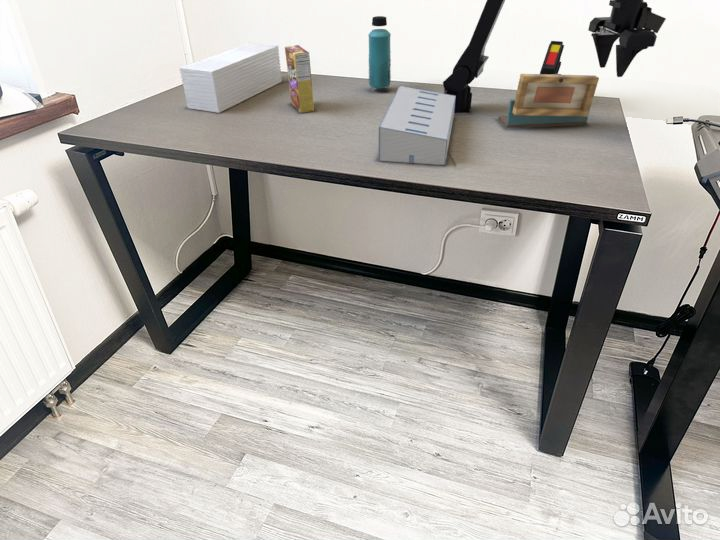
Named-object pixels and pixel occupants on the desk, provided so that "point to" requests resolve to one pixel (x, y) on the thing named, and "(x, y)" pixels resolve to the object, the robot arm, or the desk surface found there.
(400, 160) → the warehouse
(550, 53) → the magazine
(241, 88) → the stack of papers
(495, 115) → the desk surface
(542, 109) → the picture frame
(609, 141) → the desk surface
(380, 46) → the beverage bottle
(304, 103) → the candy box
